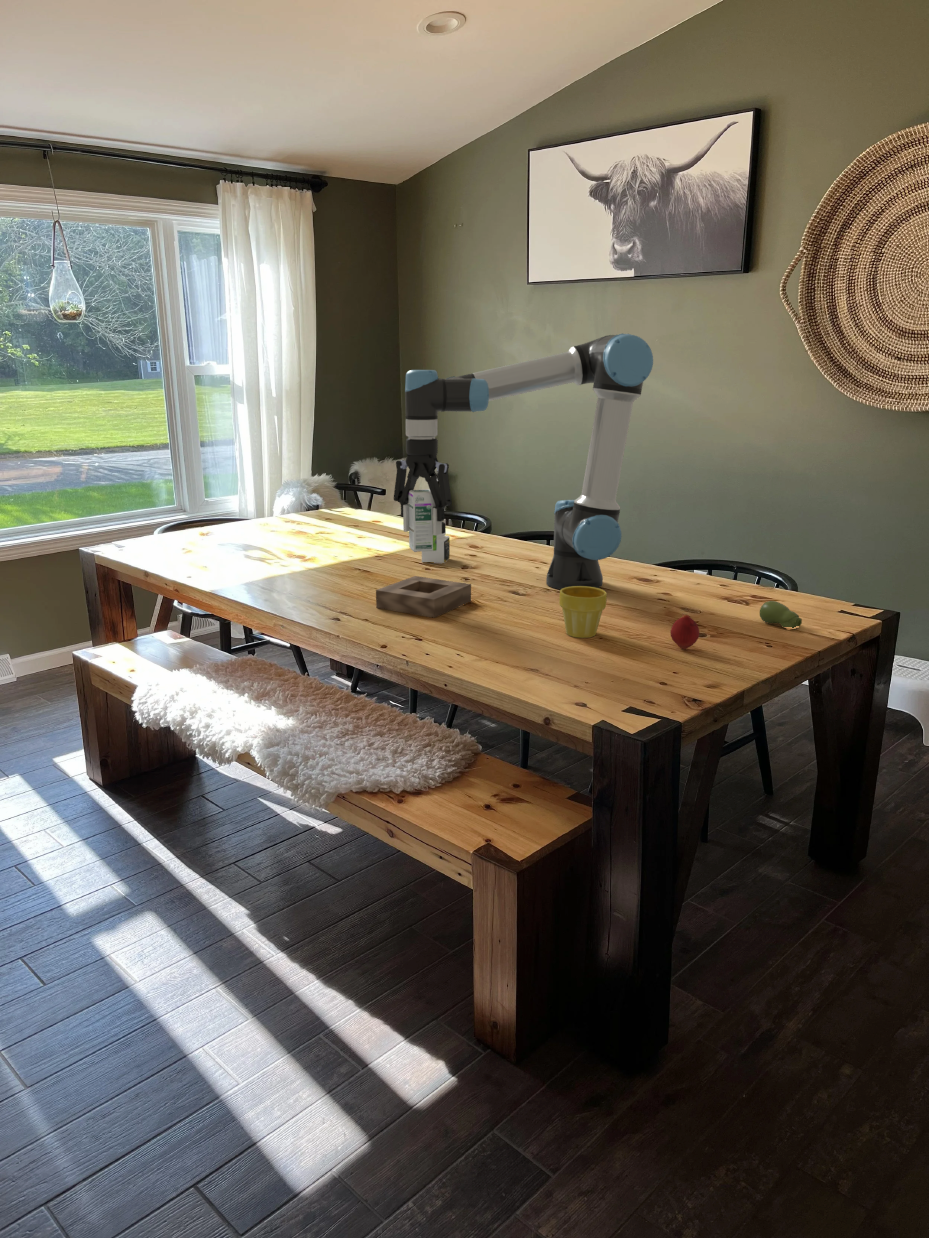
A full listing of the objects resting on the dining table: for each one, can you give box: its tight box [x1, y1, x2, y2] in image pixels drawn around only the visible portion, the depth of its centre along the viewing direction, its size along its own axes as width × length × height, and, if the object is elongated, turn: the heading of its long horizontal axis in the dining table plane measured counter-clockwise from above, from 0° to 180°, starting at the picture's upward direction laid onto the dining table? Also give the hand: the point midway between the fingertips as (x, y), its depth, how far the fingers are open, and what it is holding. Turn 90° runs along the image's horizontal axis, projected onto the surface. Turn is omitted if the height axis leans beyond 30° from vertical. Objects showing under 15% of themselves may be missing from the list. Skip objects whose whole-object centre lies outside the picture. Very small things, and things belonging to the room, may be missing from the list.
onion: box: [670, 612, 700, 650], centre depth 187 cm, size 6×6×8 cm
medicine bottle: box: [421, 521, 451, 564], centre depth 268 cm, size 7×7×12 cm
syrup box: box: [408, 489, 437, 553], centre depth 216 cm, size 6×6×14 cm
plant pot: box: [558, 586, 608, 639], centre depth 198 cm, size 10×10×10 cm
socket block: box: [375, 575, 472, 619], centre depth 222 cm, size 17×17×4 cm
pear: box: [759, 600, 803, 628], centre depth 205 cm, size 6×5×10 cm
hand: (422, 532), depth 217 cm, fingers closed on syrup box, 8 cm apart
